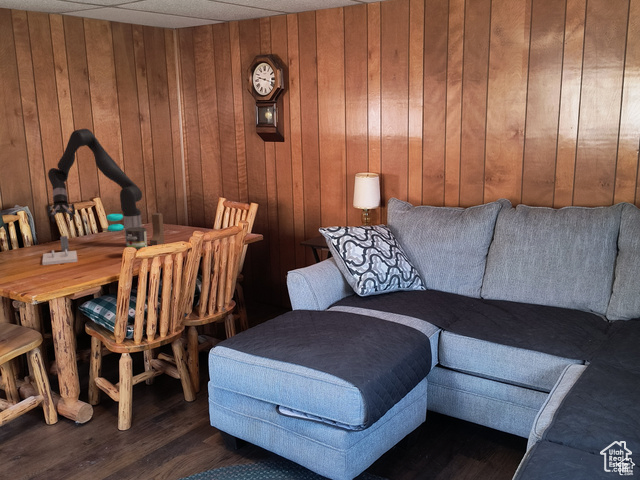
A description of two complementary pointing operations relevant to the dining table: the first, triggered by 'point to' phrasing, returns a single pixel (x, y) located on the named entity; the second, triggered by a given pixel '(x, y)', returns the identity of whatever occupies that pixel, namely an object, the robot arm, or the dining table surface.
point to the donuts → (115, 218)
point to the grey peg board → (59, 257)
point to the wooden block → (157, 229)
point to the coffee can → (136, 237)
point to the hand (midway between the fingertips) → (62, 220)
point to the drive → (64, 243)
